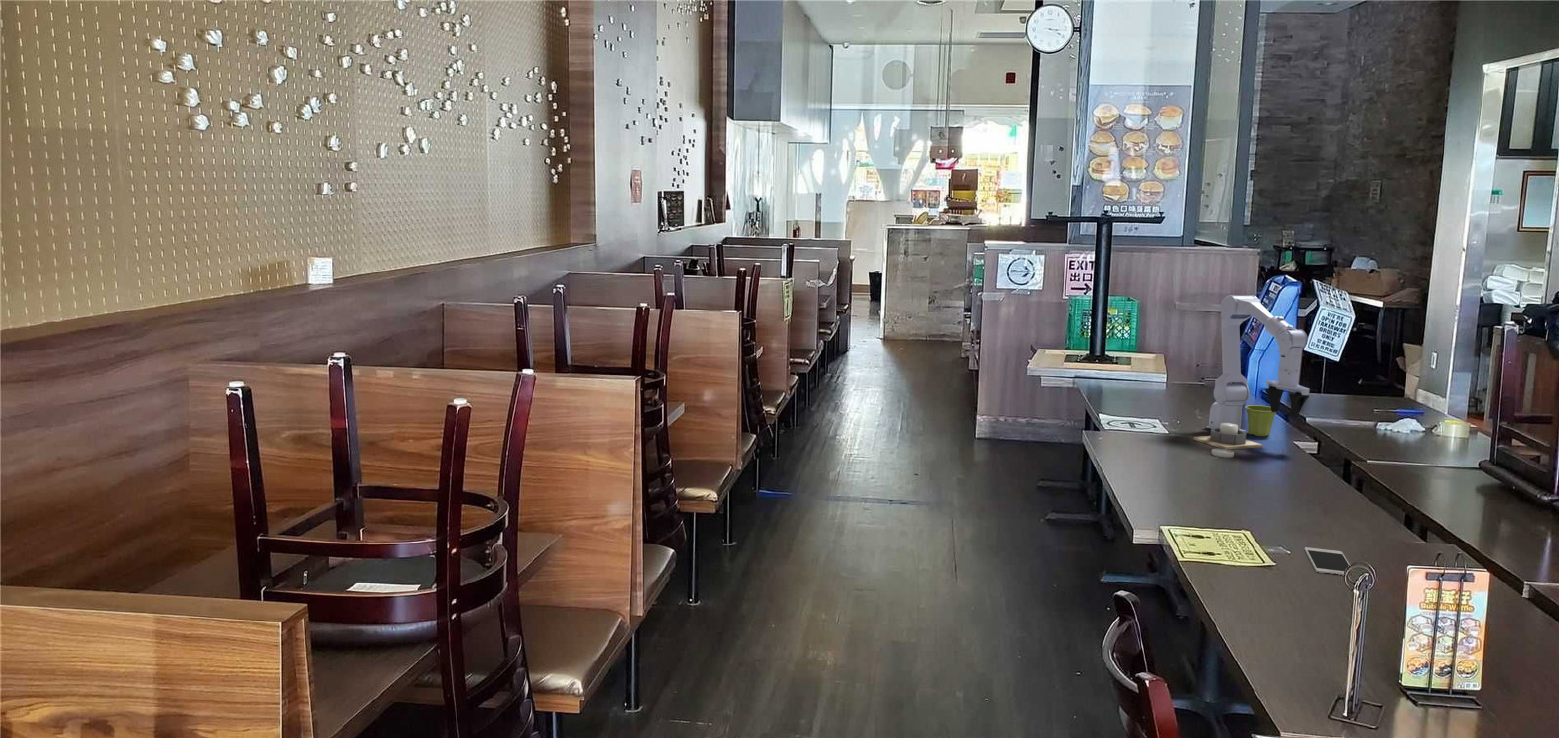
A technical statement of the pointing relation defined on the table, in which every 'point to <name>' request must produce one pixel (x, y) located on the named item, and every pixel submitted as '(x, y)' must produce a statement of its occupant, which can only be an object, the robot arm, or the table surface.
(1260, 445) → the mount plate
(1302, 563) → the table surface
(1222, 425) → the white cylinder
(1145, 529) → the table surface
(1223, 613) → the table surface
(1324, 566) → the smartphone
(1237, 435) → the lens ring
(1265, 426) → the plant pot
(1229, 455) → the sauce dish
